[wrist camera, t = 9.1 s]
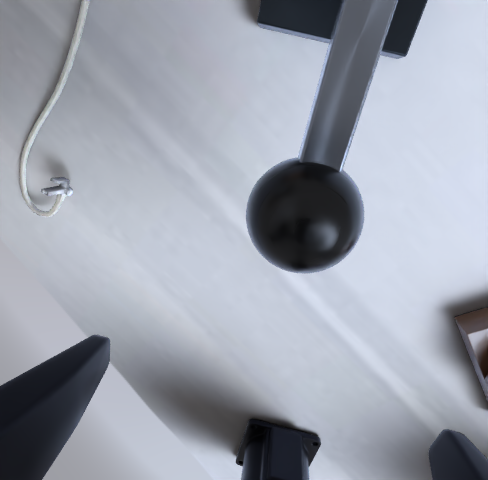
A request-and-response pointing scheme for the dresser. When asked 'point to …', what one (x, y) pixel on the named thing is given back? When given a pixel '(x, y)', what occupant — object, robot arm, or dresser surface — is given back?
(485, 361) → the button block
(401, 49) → the bracket
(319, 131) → the lever
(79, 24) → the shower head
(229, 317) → the dresser surface
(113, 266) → the dresser surface
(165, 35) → the dresser surface
